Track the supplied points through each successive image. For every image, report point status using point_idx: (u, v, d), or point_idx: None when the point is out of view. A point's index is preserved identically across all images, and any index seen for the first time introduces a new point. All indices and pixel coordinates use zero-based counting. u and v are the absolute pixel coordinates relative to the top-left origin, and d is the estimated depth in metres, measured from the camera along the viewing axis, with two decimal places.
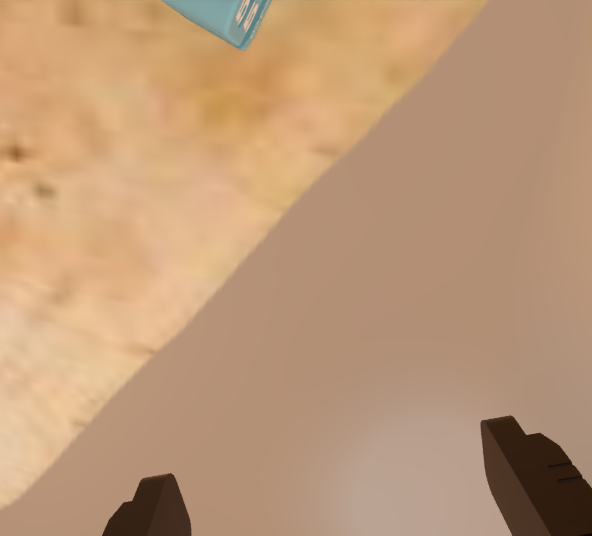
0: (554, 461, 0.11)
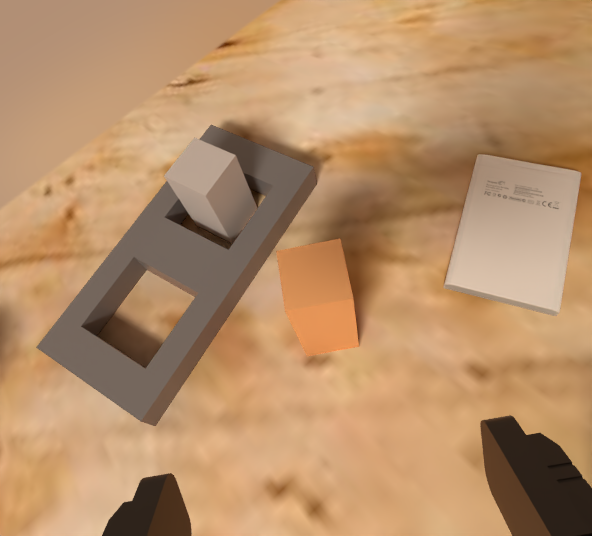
0: (554, 461, 0.11)
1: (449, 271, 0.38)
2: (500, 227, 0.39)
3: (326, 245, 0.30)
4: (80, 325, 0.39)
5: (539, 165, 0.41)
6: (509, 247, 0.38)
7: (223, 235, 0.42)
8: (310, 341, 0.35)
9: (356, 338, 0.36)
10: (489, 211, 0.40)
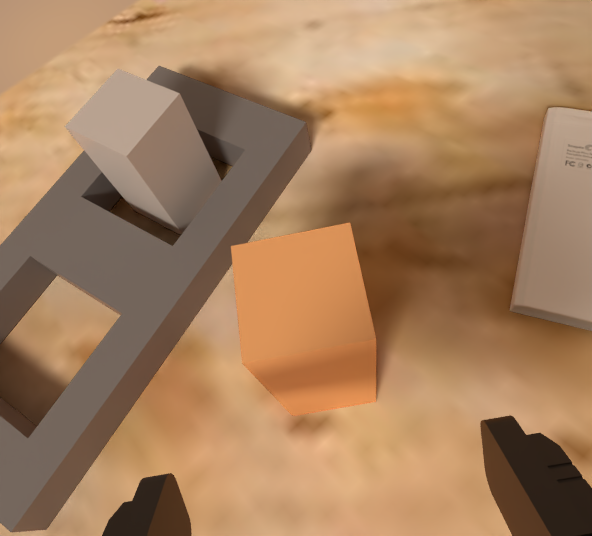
0: (554, 461, 0.11)
1: (520, 284, 0.24)
2: None
3: (324, 235, 0.16)
4: None
5: None
6: None
7: (170, 224, 0.28)
8: (296, 399, 0.20)
9: (373, 393, 0.22)
10: (576, 190, 0.25)
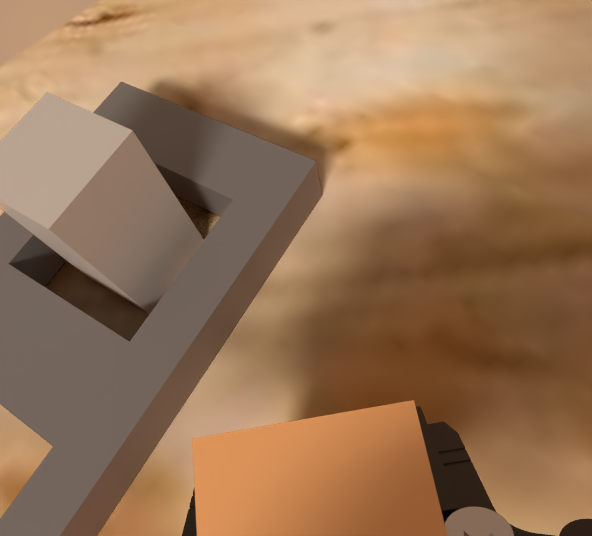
0: (449, 447, 0.12)
1: None
2: None
3: (366, 427, 0.09)
4: None
5: None
6: None
7: (131, 301, 0.21)
8: None
9: None
10: None
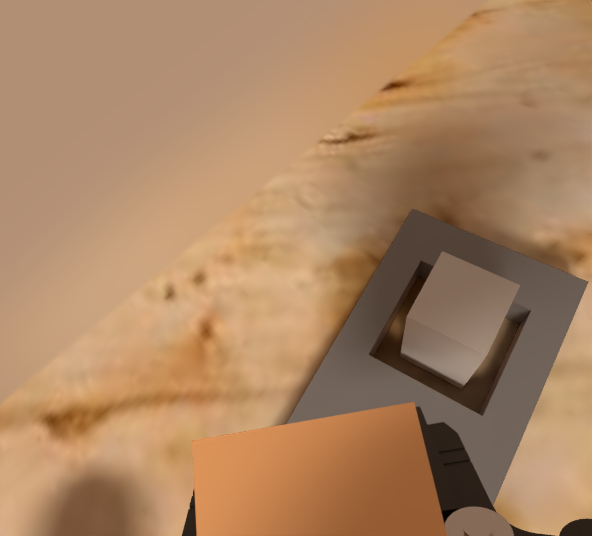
0: (449, 447, 0.12)
1: None
2: None
3: (366, 429, 0.09)
4: None
5: None
6: None
7: (453, 380, 0.29)
8: None
9: None
10: None
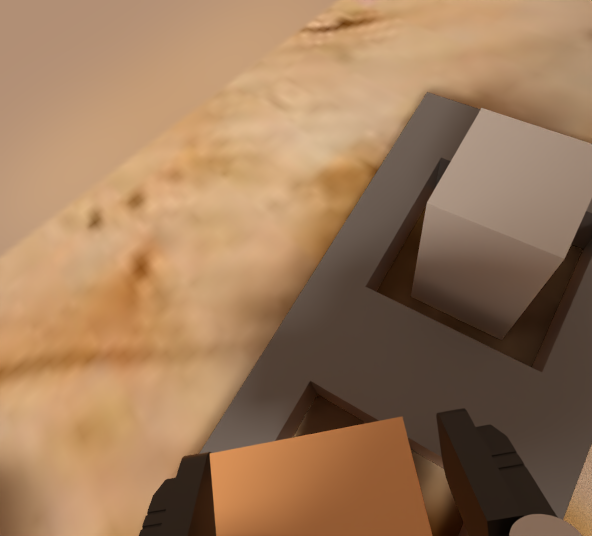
0: (500, 450, 0.11)
1: None
2: None
3: (361, 440, 0.10)
4: None
5: None
6: None
7: (490, 325, 0.20)
8: None
9: None
10: None
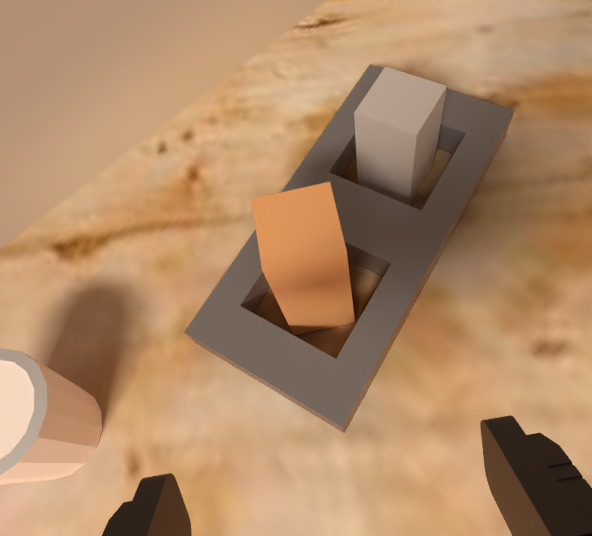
0: (554, 461, 0.11)
1: None
2: None
3: (313, 190, 0.25)
4: (238, 305, 0.31)
5: None
6: None
7: (400, 195, 0.34)
8: (296, 314, 0.29)
9: (351, 311, 0.30)
10: None
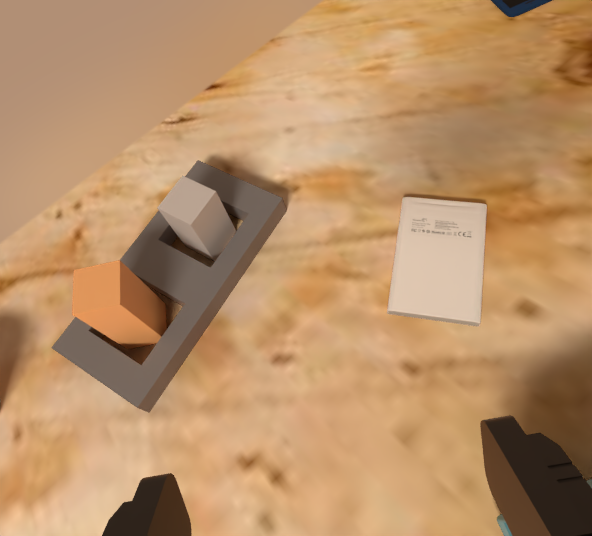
0: (554, 461, 0.11)
1: (390, 300, 0.46)
2: (427, 258, 0.47)
3: (109, 265, 0.41)
4: (87, 330, 0.47)
5: (453, 201, 0.49)
6: (435, 274, 0.46)
7: (207, 254, 0.51)
8: (117, 337, 0.45)
9: (157, 334, 0.46)
10: (417, 245, 0.48)
